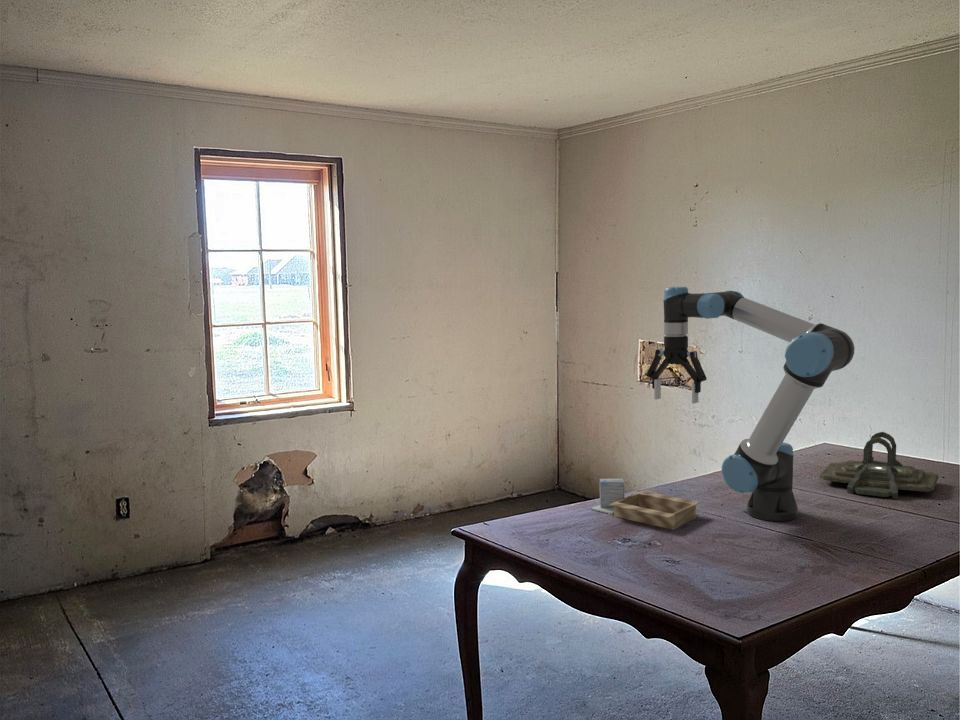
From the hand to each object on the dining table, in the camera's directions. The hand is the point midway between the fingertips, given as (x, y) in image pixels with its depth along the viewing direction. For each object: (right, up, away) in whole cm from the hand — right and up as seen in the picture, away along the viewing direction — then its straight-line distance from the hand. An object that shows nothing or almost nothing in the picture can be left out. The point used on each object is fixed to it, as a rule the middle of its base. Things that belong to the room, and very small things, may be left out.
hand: (676, 400), depth 263 cm
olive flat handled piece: (+75, -31, +20) cm, 83 cm away
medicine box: (-20, -35, +4) cm, 40 cm away
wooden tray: (-8, -36, -7) cm, 38 cm away
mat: (-20, -35, +4) cm, 41 cm away
